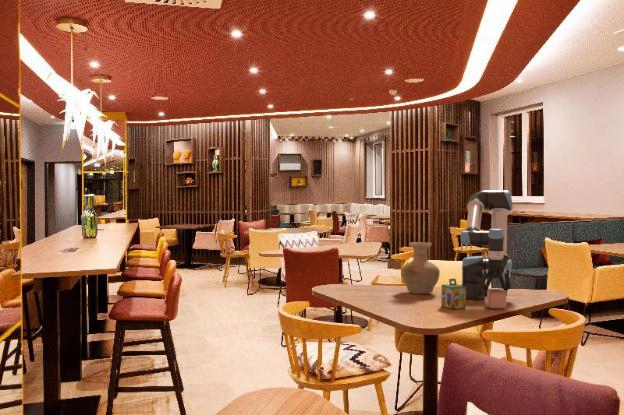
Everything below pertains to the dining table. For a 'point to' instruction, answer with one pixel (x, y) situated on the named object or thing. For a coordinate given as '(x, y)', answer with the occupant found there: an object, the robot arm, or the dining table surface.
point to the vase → (420, 271)
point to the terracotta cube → (496, 298)
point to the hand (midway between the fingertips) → (495, 302)
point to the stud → (494, 308)
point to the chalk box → (453, 295)
